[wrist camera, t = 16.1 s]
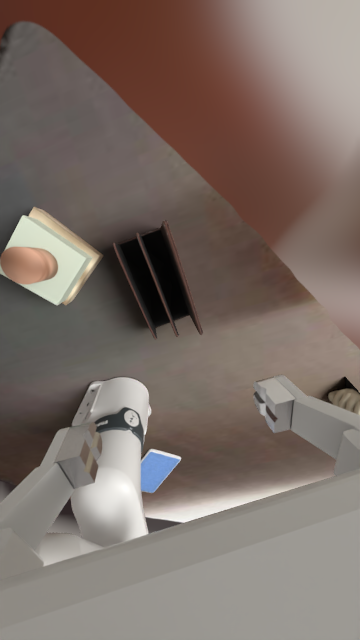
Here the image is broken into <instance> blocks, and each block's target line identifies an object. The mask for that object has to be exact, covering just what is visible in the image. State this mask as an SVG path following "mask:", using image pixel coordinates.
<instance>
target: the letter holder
mask: <svg viewBox="0 0 360 640" xmlns="http://www.w3.org/2000/svg"><path fill="white" fill-rule="evenodd" d="M136 236H137V237H135V238H132V239H130V240H127V241H124V242H121V243H119V244H117V243H113V247H114V249H115V252H116V254H117V257H118V259H119V262H120V264H121V266H122V268H123V271H124V273H125V275H126V277H127V280H128V282H129V284H130V287H131V289H132V291H133V293H134V296H135V298H136V300H137V302H138V304H139V307H140V309H141V311H142V313H143V315H144V318H145V320H146V322H147V324H148V326H149V329H150V331H151V333H152V335H153V337H154V338H155V339H157V335H156V329H155V328H157V327H159V326H162V325H164V324H167V323H171V325H172V328H173V330H174V333H175V335H176V337H178V335H179V334H178V332H177V329H176V326H175V323H174V321H175V320H178V319H180V318H183V317H186V316H188V315H190V316H191V318H192V320H193V322H194V324H195V326H196V328H197V330H198V332H199V334H200V335H202V333H203V331H202V327H201V324H200V321H199V318H198V315H197V311H196V308H195V305H194V302H193V299H192V295H191V292H190V289H189V286H188V283H187V280H186V277H185V274H184V270H183V267H182V264H181V261H180V258H179V255H178V252H177V248H176V245H175V243H174V240H173V237H172V234H171V231H170V228H169V225H168V222H167V220H165V221H163V223H162V226H161V228H159V229H157V230H154V231H151V232H149V233H146V234H143V235H140V234H139V233H136Z"/></svg>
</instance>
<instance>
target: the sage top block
mask: <svg viewBox="0 0 360 640" xmlns="http://www.w3.org/2000/svg"><path fill="white" fill-rule="evenodd" d="M10 247H31V248H42V249H45V250H47V251H49V252H50V253H51V254H52V255H53V256H54V257H55V259H56V260H57V263H58V271H57V274H56V275H55V276H54V277H53V278H51V279H49V280H45V281H41V282H36V283H32V284H20V285H21V286H23V287H25V288H27V289H29V290H30V291H32V292H34V293H36V294H37V295H39V296H41V297H43V298H45V299H46V300H48V301H50V302H52V303H53V304H55V305H59V304H60V303H62V302H64V301H65V300H66V299H67V298H68V296H69V295H70V293H71V292H72V290H73V288H74V287H75V285H76V284H77V282H78V280H79V279H80V277H81V276H82V274H83V272H84V271H85V269H86V268H87V266H88V265H89V263H90V261H91V260H92V258H93V257H91V256H90V255H89V254H87V253H86V252H84V251H83V250H81V249H80V248H78V247H77V246H76V245H74V244H73V243H71V242H70V241H68V240H67V239H65V238H64V237H63V236H61V235H60V234H58V233H57V232H55V231H54V230H53V229H51V228H50V227H48V226H47V225H45V224H44V223H42V222H41V221H40V220H38V219H35V218H32V217H28V216H24V215H23V216H22V217H21V219H20V221H19V223H18V225H17V227H16V229H15V231H14V233H13V235H12V237H11V239H10V241H9V243H8V244H7V246H6V248H5V250H6V249H8V248H10ZM5 250H4V251H5ZM0 274H2V275H4V276H5V277H7V276H6V275H5V273H4V272H3V270H2V268H1V265H0ZM7 278H8V277H7ZM9 279H10V278H9ZM18 284H19V283H18Z"/></svg>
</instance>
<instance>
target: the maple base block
mask: <svg viewBox="0 0 360 640" xmlns="http://www.w3.org/2000/svg"><path fill="white" fill-rule="evenodd" d="M28 217H32V218H35V219H38V220H40V221H41V222H42V223H44V224H45V225H47V226H48V227H50V228H51V229H53V230H54V231H55V232H57V233H58V234H60V235H61V236H63V237H64V238H65V239H67V240H68V241H70V242H71V243H73V244H74V245H76V246H77V247H78V248H80V249H81V250H83V251H84V252H86V253H87V254H89V255H90V256H91V257H93V258H92V260H91V261H90V263H89V265H88V266H87V268H86V269H85V271H84V272H83V274H82V276H81V277H80V279H79V280H78V282H77V284H76V285H75V287H74V288H73V290H72V292H71V293H70V295H69V296H68V298H67V299H66V300H65V301H64V302H62V303H63V304H65V305H67V304H68V303H70V302H71V301H73V299H74V298H75V296H76V295H77V293H78V292H79V290H80V289H81V288H82V286H83V285H84V283H85V282H86V280H87V279H88V278H89V276H90V275H91V273H92V272H93V270H94V269H95V267H96V266H97V265H98V263H99V262H100V260H101V259H102V257H103V256H104V255H102V254H101V253H100V252H98V251H97V250H96V249H95V248H93V247H92V246H91V245H89V244H88V243H87V242H85V241H84V240H83V239H81V238H80V237H79V236H77V235H76V234H75V233H73V232H72V231H71V230H69V229H68V228H67V227H65V226H64V225H63V224H61V223H60V222H59V221H57V220H56V219H55V218H54V217H52V216H51V215H50V214H48V213H47V212H46V211H44V210H41V209H38V208H36V207H34V208H33V209H32V211H31V213H30V214H29V216H28Z"/></svg>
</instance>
